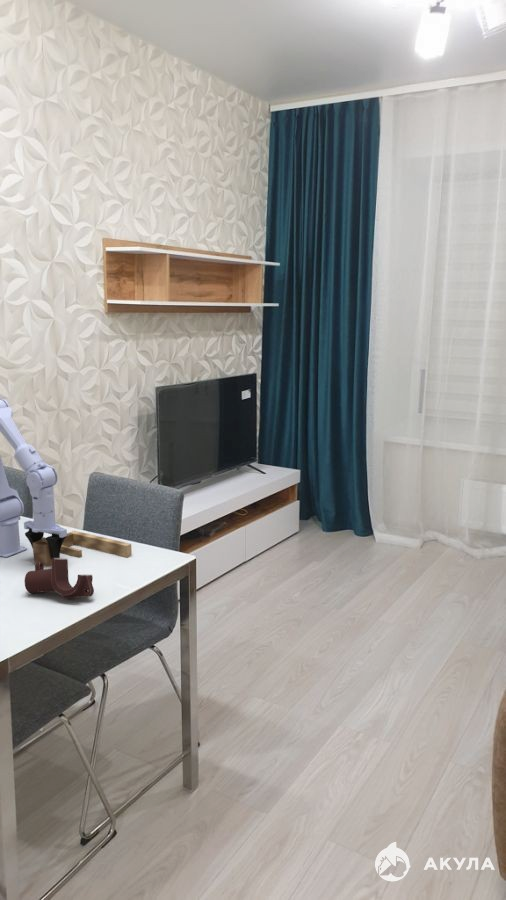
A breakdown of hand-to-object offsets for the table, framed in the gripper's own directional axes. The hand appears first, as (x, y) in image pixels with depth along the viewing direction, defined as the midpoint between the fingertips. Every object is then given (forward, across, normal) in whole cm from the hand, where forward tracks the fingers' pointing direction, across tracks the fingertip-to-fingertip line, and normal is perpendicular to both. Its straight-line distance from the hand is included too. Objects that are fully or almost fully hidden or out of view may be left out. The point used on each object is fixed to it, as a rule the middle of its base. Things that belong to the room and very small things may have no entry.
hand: (46, 557), depth 201 cm
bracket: (+2, +20, -14) cm, 24 cm away
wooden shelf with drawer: (+1, +6, +11) cm, 13 cm away
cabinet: (+2, 0, 0) cm, 2 cm away
